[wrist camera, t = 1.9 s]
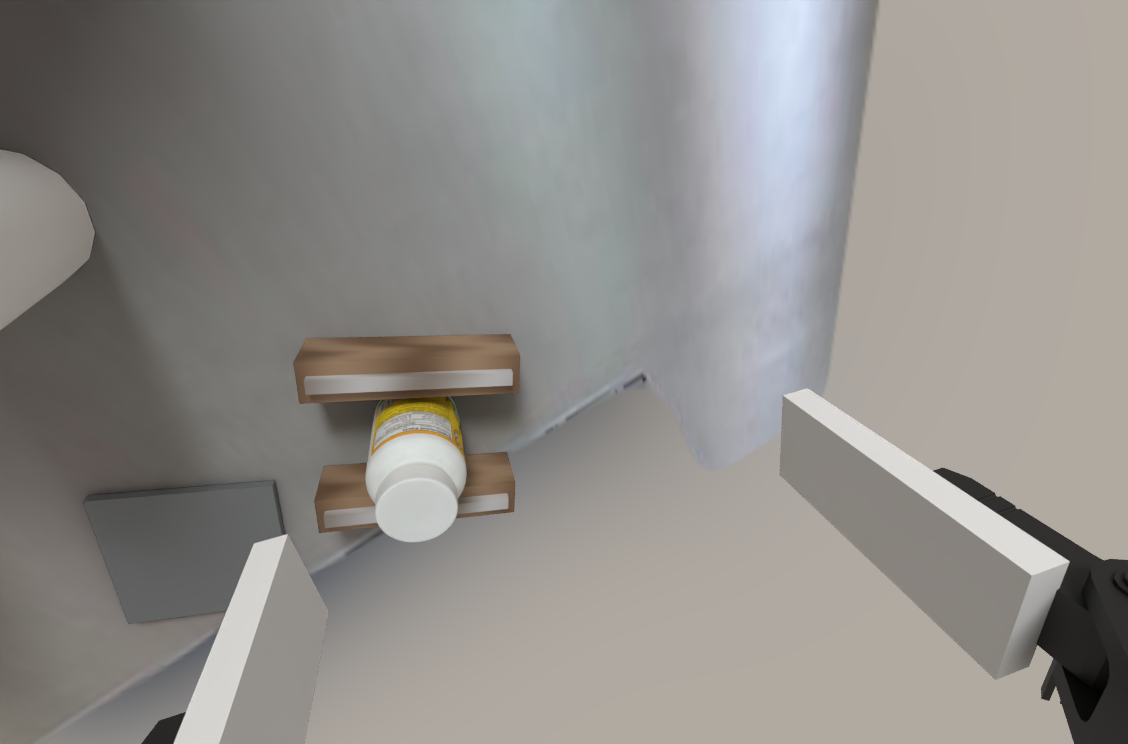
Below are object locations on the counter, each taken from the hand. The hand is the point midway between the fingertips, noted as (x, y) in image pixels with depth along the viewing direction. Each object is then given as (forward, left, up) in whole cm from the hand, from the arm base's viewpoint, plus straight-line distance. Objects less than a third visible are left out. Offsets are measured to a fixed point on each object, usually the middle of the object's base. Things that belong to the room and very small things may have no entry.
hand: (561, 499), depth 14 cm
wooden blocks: (-4, -9, -21) cm, 23 cm away
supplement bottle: (-4, -9, -21) cm, 23 cm away
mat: (-18, -18, -21) cm, 33 cm away
